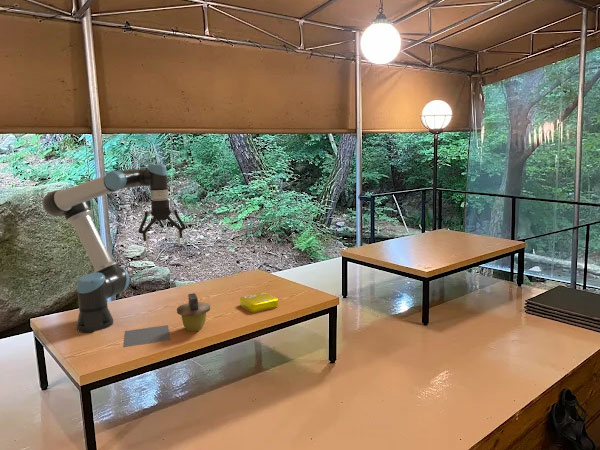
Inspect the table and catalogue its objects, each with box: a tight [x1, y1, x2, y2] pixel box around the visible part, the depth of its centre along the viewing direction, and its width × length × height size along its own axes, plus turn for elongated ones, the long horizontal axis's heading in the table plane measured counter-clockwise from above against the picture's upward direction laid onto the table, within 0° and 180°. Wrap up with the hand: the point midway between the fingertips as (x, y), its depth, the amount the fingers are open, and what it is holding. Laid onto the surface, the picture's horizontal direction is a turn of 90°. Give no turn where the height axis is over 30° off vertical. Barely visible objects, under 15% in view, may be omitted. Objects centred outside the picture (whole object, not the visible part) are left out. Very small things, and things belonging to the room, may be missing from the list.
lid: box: [176, 293, 211, 316], centre depth 204 cm, size 14×14×6 cm
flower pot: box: [180, 312, 207, 332], centre depth 205 cm, size 9×9×9 cm
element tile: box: [239, 291, 279, 314], centre depth 234 cm, size 15×15×5 cm
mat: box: [122, 324, 171, 348], centre depth 200 cm, size 18×18×1 cm
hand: (163, 246), depth 212 cm, fingers open, 13 cm apart
